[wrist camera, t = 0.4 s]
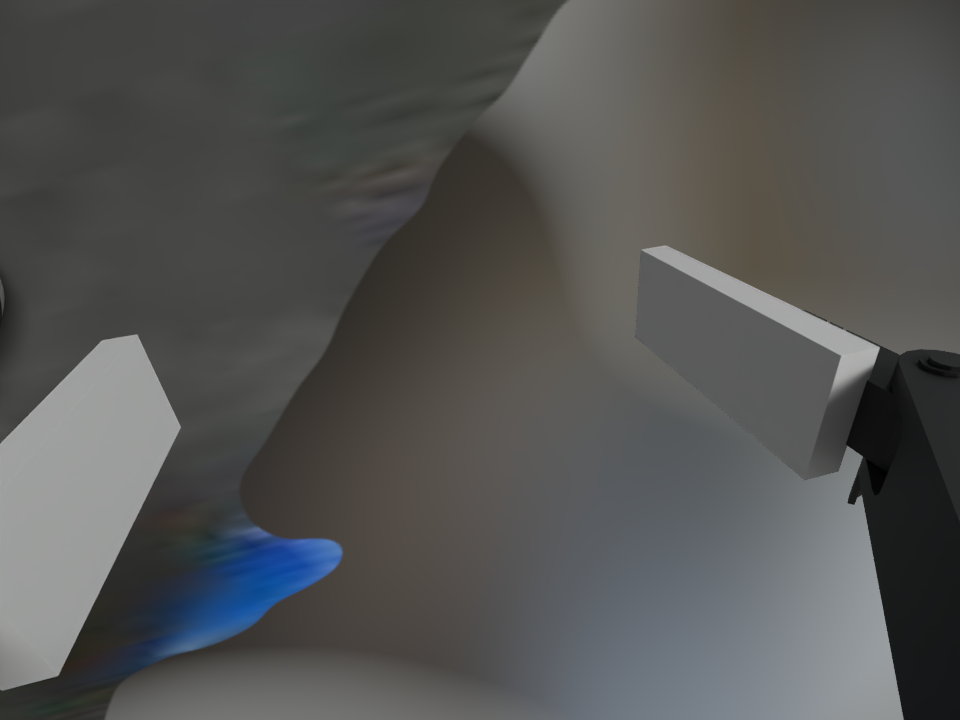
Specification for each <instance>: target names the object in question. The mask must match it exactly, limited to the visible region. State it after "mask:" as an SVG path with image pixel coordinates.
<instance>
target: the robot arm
mask: <svg viewBox="0 0 960 720" xmlns="http://www.w3.org/2000/svg"><path fill="white" fill-rule="evenodd" d="M638 286H639V287H638V301H637V315H636V330H635V338H637V339H638V340H639V341H640V342H641V343H643V344H644V345H645V346H646V347H647V348H648V349H650V350H651V351H652V352H653V353H655V354H656V355H657V356H658V357H659V358H660V359H661V360H663V361H664V362H665V363H666V364H667V365H669V366H670V367H671V368H672V369H673V370H675V371H676V372H677V373H678V374H679V375H681V376H682V377H683V378H684V379H685V380H686V381H688V382H689V383H690V384H691V385H692V386H694V387H695V388H696V389H697V390H698V391H700V392H701V393H702V394H703V395H704V396H705V397H707V398H708V399H709V400H710V401H711V402H712V403H714V404H715V405H716V406H717V407H718V408H720V409H721V410H722V411H723V412H724V413H725V414H727V415H728V416H729V417H730V418H732V419H733V420H734V421H735V422H736V423H737V424H739V425H740V426H741V427H742V428H743V429H745V430H746V431H747V432H748V433H749V434H750V435H752V436H753V437H754V438H755V439H757V440H758V441H759V442H760V443H761V444H762V445H763V446H765V447H766V448H767V449H768V450H770V451H771V452H772V453H773V454H774V455H775V456H777V457H778V458H779V459H780V460H781V461H782V462H784V463H785V464H786V465H787V466H788V467H790V468H791V469H792V470H793V471H794V472H795V473H797V474H798V475H799V476H800V477H801V478H803V479H804V480H807V479H811V478H815V477H819V476H822V475H826V474H830V473H834V472H838V471H839V468H840V465H841V462H842V459H843V456H844V453H845V450H846V447H847V446H849V447H850V448H852V449H853V450H855V451H856V452H858V453H859V454H860V455H862V456H863V459H862V461H861V464H860V467H859V470H858V472H857V475H856V478H855V481H854V484H853V486H852V489H851V492H850V495H849V498H848V503H849V504H855V502H856V499H857V497H859V496H861V495H862V497H863V503H864V508H865V513H866V518H867V524H868V530H869V535H870V540H871V546H872V551H873V556H874V562H875V567H876V573H877V578H878V583H879V589H880V594H881V599H882V605H883V610H884V616H885V621H886V626H887V631H888V637H889V642H890V648H891V653H892V659H893V664H894V669H895V674H896V680H897V685H898V691H899V695H900V701H901V707H902V712H903V717H904V720H960V355H959V354H956V353H950V352H945V351H939V350H922V349H920V350H913V351H907V352H905V353H903V354H901V355H898V354H897V353H895V352H892V351H890V350H888V349H886V348H884V347H882V346H880V345H878V344H876V343H873V342H871V341H869V340H867V339H865V338H863V337H861V336H859V335H857V334H854V333H852V332H850V331H848V330H846V331H845V330H843V328H842V327H839V326H837V325H835V324H833V323H828V322H827V320H825V319H823V318H821V317H818V316H816V315H814V314H812V313H810V312H808V311H805V310H801V309H798V308H796V307H794V306H792V305H790V304H788V303H786V302H784V301H781V300H779V299H777V298H775V297H773V296H771V295H769V294H766V293H764V292H762V291H760V290H758V289H756V288H754V287H752V286H750V285H748V284H745V283H744V282H741V281H739V280H737V279H735V278H732V277H731V276H729V275H727V274H724V273H723V272H720V271H718V270H716V269H714V268H712V267H710V266H708V265H706V264H703V263H701V262H699V261H697V260H695V259H693V258H691V257H689V256H687V255H685V254H683V253H680V252H678V251H676V250H674V249H672V248H670V247H668V246H660V247H654V248H648V249H642V250H641V255H640V271H639V285H638ZM180 428H181V427H180V425H179V422H178V420H177V418H176V416H175V414H174V412H173V410H172V408H171V405H170V403H169V401H168V399H167V397H166V395H165V393H164V391H163V388H162V386H161V384H160V382H159V380H158V378H157V376H156V374H155V371H154V369H153V367H152V365H151V363H150V361H149V359H148V357H147V355H146V352H145V350H144V348H143V346H142V344H141V342H140V340H139V338H138V335H131V336H125V337H119V338H113V339H108V340H102V341H101V342H100V343H99V344H98V345H97V346H96V347H95V348H94V349H93V350H92V351H91V352H90V353H89V354H88V355H87V356H86V357H85V358H84V359H83V360H82V361H81V362H80V363H79V364H78V365H77V366H76V368H75V369H74V370H73V371H72V372H71V373H70V374H69V375H68V376H67V377H66V378H65V379H64V380H63V381H62V382H61V383H60V384H59V385H58V386H57V387H56V388H55V389H54V390H53V391H52V392H51V393H50V394H49V395H48V396H47V397H46V398H45V399H44V400H43V401H42V402H41V403H40V404H39V405H38V406H37V407H36V408H35V409H34V410H33V411H32V412H31V413H30V414H29V415H28V416H27V417H26V418H25V419H24V420H23V421H22V422H21V423H20V424H19V425H18V426H17V427H16V428H15V429H14V430H13V431H12V432H11V433H10V434H9V435H8V437H7V438H6V439H5V440H4V441H3V442H2V443H1V444H0V690H1V691H3V690H6V689H10V688H14V687H18V686H22V685H26V684H29V683H33V682H37V681H41V680H45V679H48V678H52V677H56V676H58V675H59V673H60V671H61V669H62V667H63V665H64V663H65V661H66V659H67V657H68V655H69V653H70V651H71V649H72V647H73V645H74V642H75V640H76V638H77V636H78V634H79V632H80V630H81V628H82V626H83V624H84V622H85V620H86V618H87V616H88V614H89V612H90V610H91V608H92V606H93V604H94V602H95V600H96V598H97V596H98V594H99V592H100V590H101V588H102V586H103V584H104V582H105V580H106V578H107V576H108V574H109V572H110V570H111V568H112V566H113V564H114V561H115V559H116V557H117V555H118V553H119V551H120V549H121V547H122V545H123V543H124V541H125V539H126V537H127V535H128V533H129V531H130V529H131V527H132V525H133V523H134V521H135V519H136V517H137V515H138V513H139V511H140V509H141V507H142V505H143V503H144V501H145V499H146V497H147V495H148V493H149V491H150V489H151V487H152V485H153V483H154V480H155V478H156V476H157V474H158V472H159V470H160V468H161V466H162V464H163V462H164V460H165V458H166V456H167V454H168V452H169V450H170V448H171V446H172V444H173V442H174V440H175V438H176V436H177V434H178V432H179V430H180Z"/></svg>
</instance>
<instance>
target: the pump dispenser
mask: <svg viewBox="0 0 960 720" xmlns="http://www.w3.org/2000/svg"><path fill="white" fill-rule="evenodd" d="M4 300H5V299H4V290H3V285H2V282H1V279H0V324H1V319H2V314H3V309H4Z"/></svg>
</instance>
